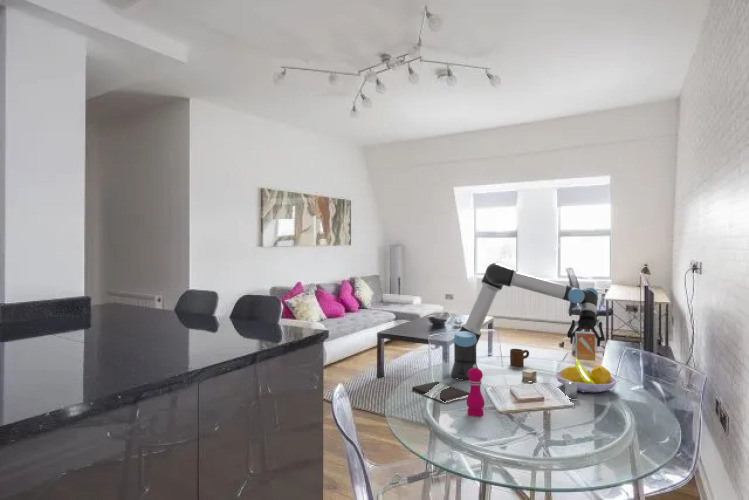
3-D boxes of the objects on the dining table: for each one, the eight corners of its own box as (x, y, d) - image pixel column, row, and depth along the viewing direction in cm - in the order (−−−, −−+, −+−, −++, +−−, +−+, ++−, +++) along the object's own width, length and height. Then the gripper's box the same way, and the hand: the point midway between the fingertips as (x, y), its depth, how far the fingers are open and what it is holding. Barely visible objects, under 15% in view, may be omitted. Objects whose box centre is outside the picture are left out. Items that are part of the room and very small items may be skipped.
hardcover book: (437, 385, 210) (437, 381, 210) (471, 398, 190) (471, 393, 191) (412, 391, 201) (412, 386, 201) (445, 405, 182) (445, 399, 182)
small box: (577, 359, 202) (576, 333, 202) (575, 357, 208) (574, 330, 209) (595, 361, 200) (595, 333, 200) (593, 358, 206) (592, 331, 206)
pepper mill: (485, 411, 172) (484, 363, 172) (483, 418, 165) (483, 367, 166) (467, 409, 174) (467, 361, 175) (465, 415, 167) (464, 365, 168)
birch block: (530, 382, 213) (530, 372, 214) (522, 380, 218) (522, 370, 218) (536, 380, 216) (536, 371, 216) (528, 378, 220) (528, 369, 221)
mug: (525, 363, 253) (525, 347, 253) (532, 366, 245) (532, 350, 246) (507, 364, 250) (507, 348, 250) (514, 367, 243) (514, 351, 243)
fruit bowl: (617, 401, 185) (617, 375, 185) (551, 391, 198) (551, 367, 198) (617, 384, 209) (616, 362, 209) (558, 377, 222) (558, 356, 223)
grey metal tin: (570, 400, 185) (570, 385, 185) (562, 397, 190) (562, 381, 190) (579, 399, 186) (579, 384, 187) (571, 396, 191) (571, 381, 191)
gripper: (613, 319, 211) (610, 357, 197) (566, 316, 223) (560, 352, 210) (611, 310, 207) (609, 348, 193) (563, 307, 219) (558, 343, 206)
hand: (584, 350), depth 201 cm, fingers closed on small box, 9 cm apart
